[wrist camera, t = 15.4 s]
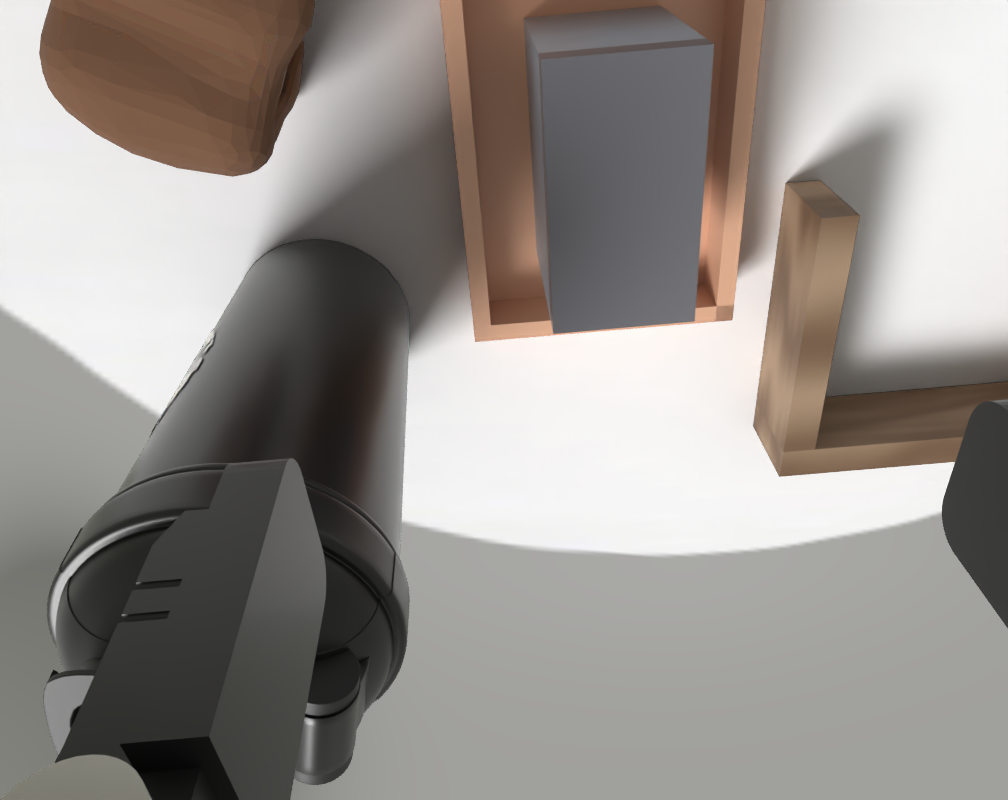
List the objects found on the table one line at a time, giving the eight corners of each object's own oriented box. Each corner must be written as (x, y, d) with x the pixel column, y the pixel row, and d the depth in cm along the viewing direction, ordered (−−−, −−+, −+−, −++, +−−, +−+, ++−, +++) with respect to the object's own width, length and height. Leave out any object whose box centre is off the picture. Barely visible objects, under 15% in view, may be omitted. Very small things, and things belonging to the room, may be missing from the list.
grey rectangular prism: (523, 17, 32) (541, 59, 25) (660, 5, 32) (713, 44, 25) (536, 249, 37) (553, 333, 31) (652, 239, 37) (694, 321, 31)
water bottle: (214, 208, 36) (-54, 593, 17) (438, 237, 38) (418, 625, 19) (222, 392, 42) (26, 837, 23) (416, 412, 43) (385, 848, 24)
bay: (785, 183, 37) (821, 218, 33) (1155, 151, 37) (1232, 184, 33) (753, 426, 45) (779, 476, 41) (1057, 400, 45) (1111, 448, 41)
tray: (434, -73, 30) (432, -67, 28) (750, -99, 30) (775, -95, 28) (474, 311, 40) (475, 341, 37) (715, 291, 40) (732, 320, 37)
